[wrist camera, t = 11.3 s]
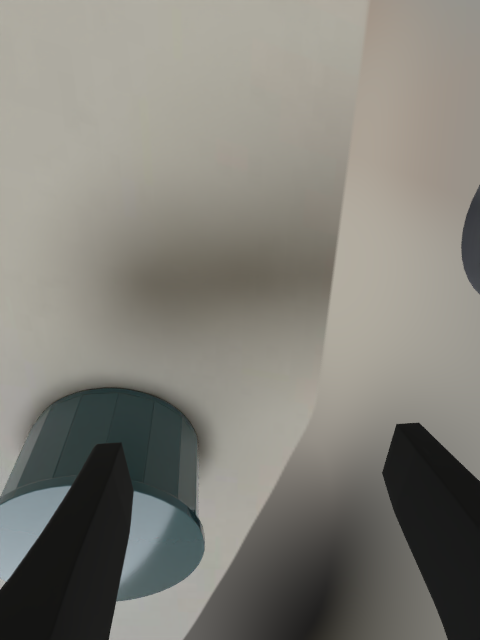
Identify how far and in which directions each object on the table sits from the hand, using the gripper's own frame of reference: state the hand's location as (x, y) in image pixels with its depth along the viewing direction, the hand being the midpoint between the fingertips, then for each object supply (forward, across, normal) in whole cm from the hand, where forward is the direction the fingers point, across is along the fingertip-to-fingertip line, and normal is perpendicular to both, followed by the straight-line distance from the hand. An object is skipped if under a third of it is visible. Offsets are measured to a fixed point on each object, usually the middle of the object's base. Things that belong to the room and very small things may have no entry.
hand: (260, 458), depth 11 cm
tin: (+10, +8, +12) cm, 17 cm away
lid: (+4, +8, +12) cm, 14 cm away
